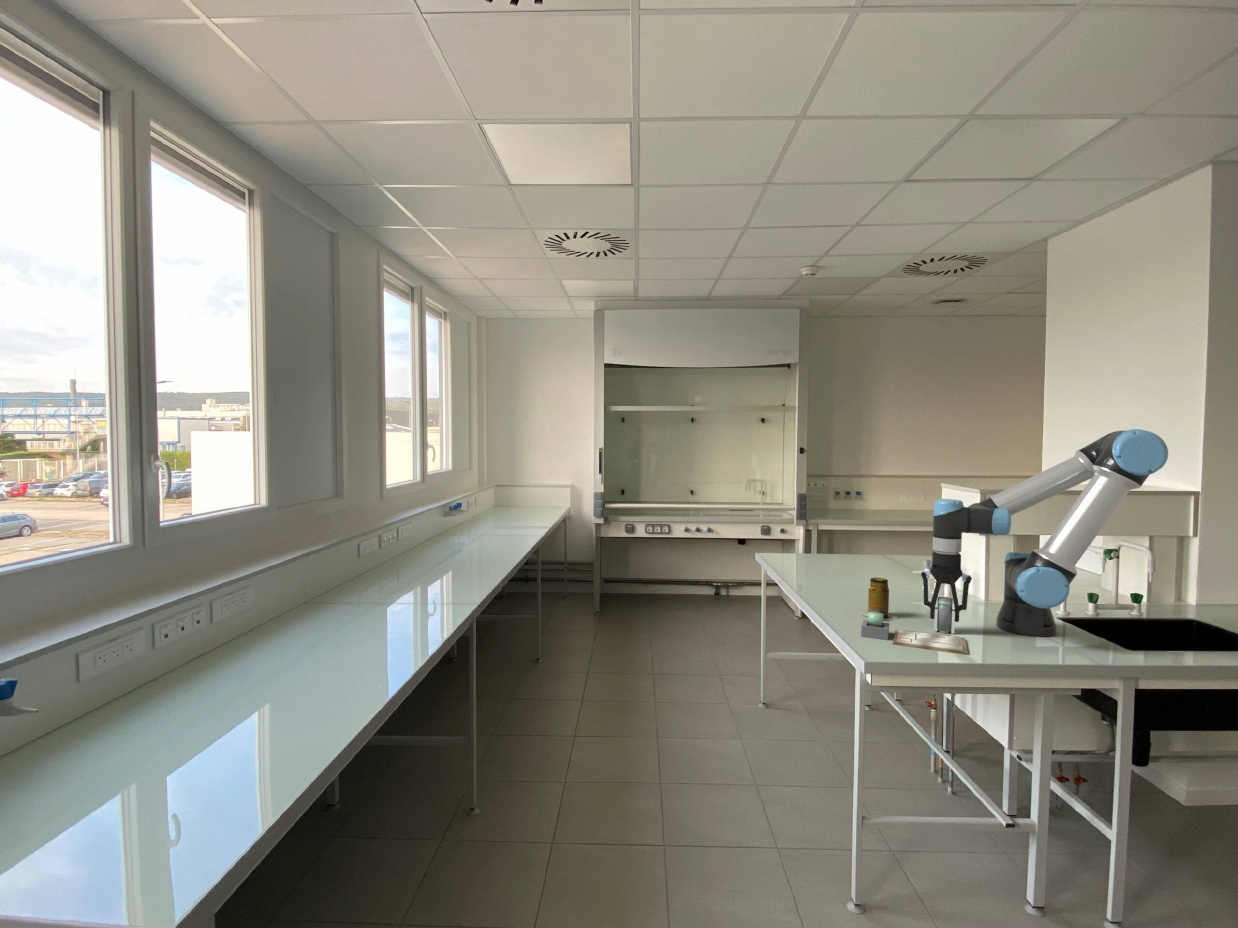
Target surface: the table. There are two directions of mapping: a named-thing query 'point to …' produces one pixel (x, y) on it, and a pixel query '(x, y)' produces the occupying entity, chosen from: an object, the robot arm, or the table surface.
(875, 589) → the condiment
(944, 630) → the marker
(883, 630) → the button box
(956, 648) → the framed board
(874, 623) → the button
